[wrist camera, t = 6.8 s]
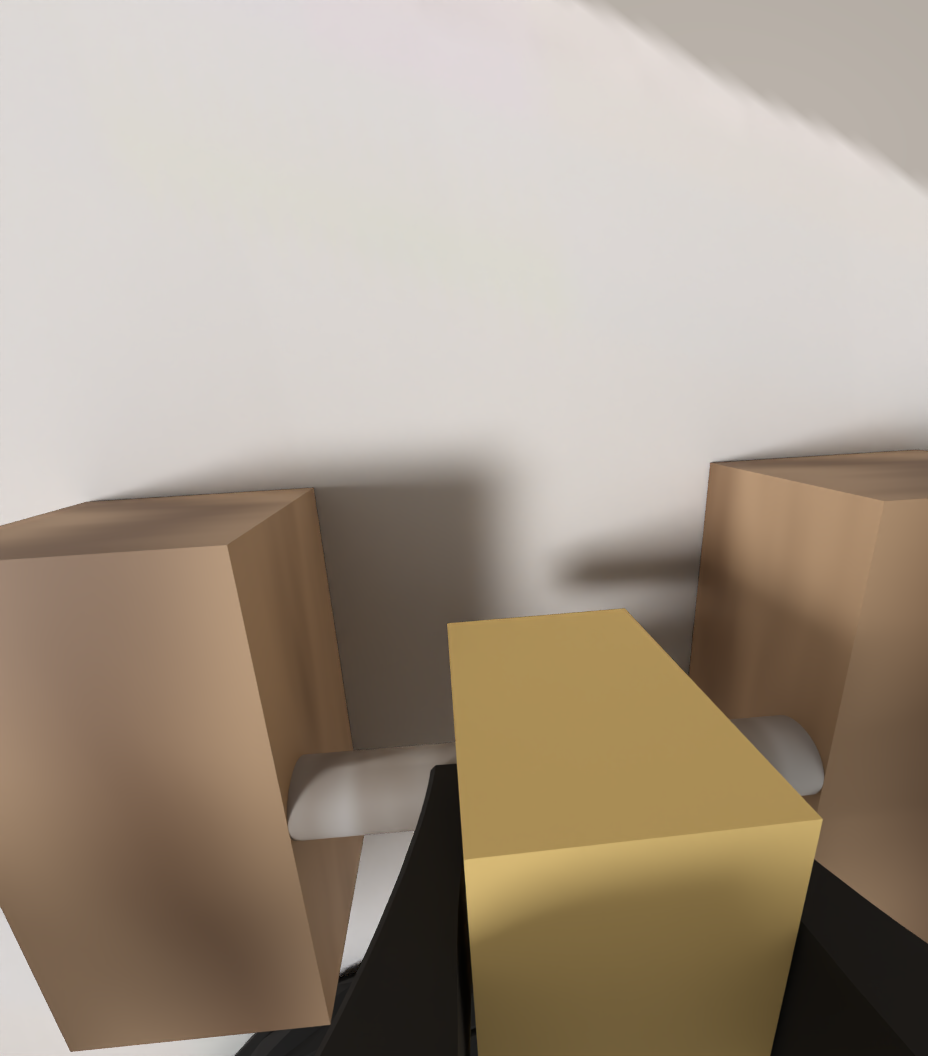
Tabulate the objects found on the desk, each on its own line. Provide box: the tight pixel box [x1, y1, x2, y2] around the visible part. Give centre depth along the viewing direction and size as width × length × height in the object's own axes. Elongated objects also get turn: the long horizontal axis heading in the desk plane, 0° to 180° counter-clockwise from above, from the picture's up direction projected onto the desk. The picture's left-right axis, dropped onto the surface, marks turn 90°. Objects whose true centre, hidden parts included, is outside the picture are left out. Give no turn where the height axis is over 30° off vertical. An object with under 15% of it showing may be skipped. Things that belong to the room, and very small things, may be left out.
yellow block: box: [447, 608, 823, 1056], centre depth 8 cm, size 4×6×5 cm, turn 3°
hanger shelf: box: [0, 450, 928, 1052], centre depth 11 cm, size 23×12×5 cm, turn 93°
